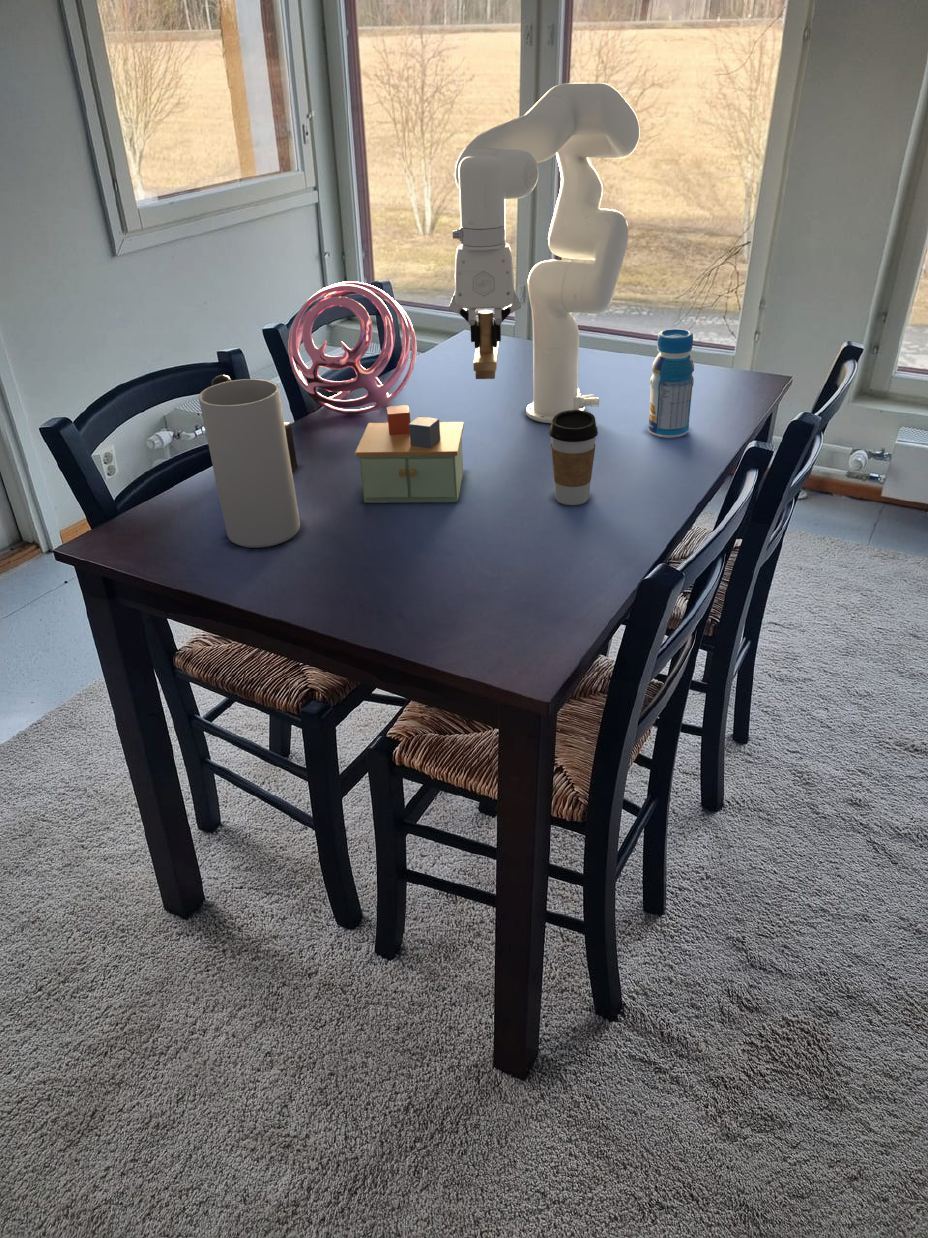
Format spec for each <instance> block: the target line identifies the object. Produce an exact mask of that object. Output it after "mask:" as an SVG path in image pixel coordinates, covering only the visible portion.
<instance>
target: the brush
mask: <svg viewBox="0 0 928 1238" xmlns="http://www.w3.org/2000/svg"><path fill="white" fill-rule="evenodd" d="M477 319H478V326H479V347H478V348H475V350H474V351H475V352H474V358H473V365H472V366H473V372H474V373H475V374H474V375H475V380H496V379H495V378H496V373H497V369H498V360H499V359H498V358H499V351H500V343H499V342H500V341H499V342H497V348H494V347H493V333H492V325H493V322H494V310H490V309H482V310H479V311H478V312H477Z"/></svg>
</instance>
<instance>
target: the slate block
mask: <svg viewBox="0 0 928 1238" xmlns="http://www.w3.org/2000/svg"><path fill="white" fill-rule="evenodd" d="M410 422H411V423H410V424H409V431H410V444H411V446H418V447H425V448H432V447H433V446H434V445H435V444H436V443H438V442H439V441H440V440H441V439H440V423H439V422H440V418H436V417H427V416H421V415H419V416H417V417H416V418H415V419H414V420H412V421H410Z"/></svg>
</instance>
